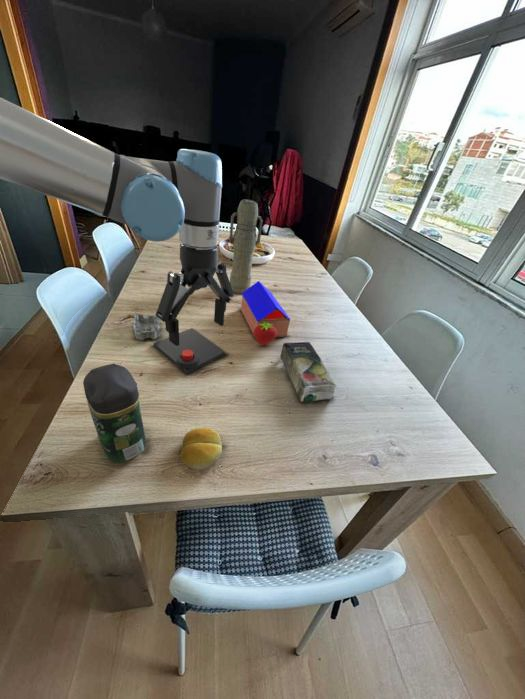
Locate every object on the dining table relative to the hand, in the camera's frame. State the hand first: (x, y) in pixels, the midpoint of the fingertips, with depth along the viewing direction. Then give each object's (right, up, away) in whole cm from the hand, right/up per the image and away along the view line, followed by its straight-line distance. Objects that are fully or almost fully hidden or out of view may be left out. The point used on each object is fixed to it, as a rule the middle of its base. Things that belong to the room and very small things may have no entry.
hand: (197, 332), depth 71 cm
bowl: (+7, +47, +91) cm, 103 cm away
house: (+16, +6, +37) cm, 40 cm away
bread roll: (+3, -26, -9) cm, 27 cm away
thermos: (+6, +22, +56) cm, 60 cm away
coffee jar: (-13, -24, -10) cm, 29 cm away
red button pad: (-6, -4, +17) cm, 19 cm away
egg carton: (-21, +2, +22) cm, 30 cm away
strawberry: (+16, -3, +25) cm, 29 cm away
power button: (-5, -6, +10) cm, 13 cm away
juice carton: (+28, -12, +15) cm, 34 cm away
